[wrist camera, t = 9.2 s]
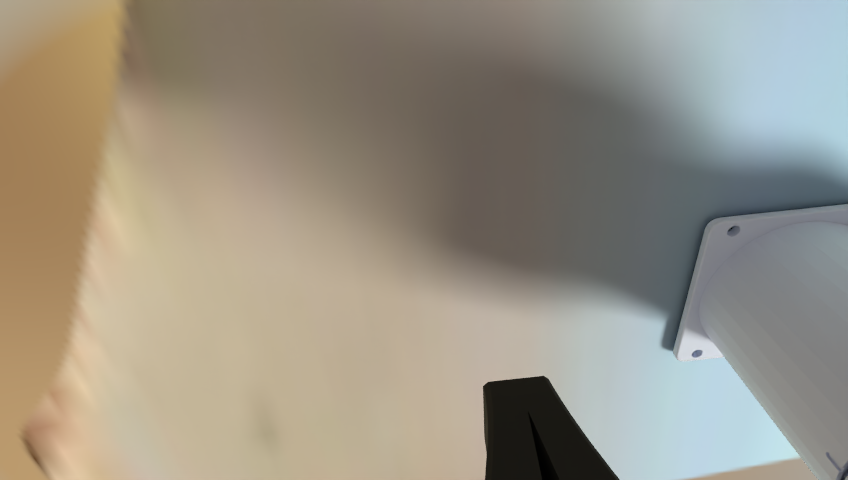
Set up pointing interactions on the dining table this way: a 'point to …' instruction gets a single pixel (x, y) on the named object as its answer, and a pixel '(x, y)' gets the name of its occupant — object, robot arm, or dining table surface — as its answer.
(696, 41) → the dining table surface
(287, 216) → the dining table surface
